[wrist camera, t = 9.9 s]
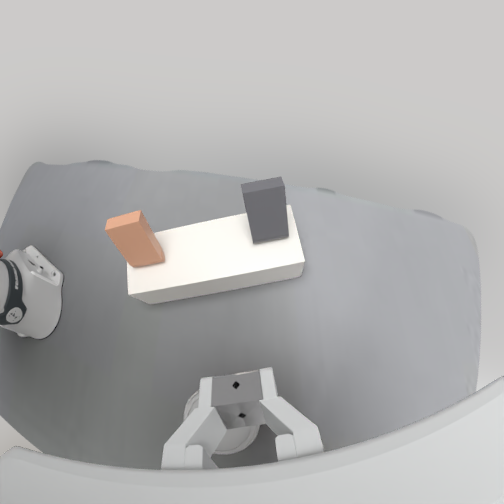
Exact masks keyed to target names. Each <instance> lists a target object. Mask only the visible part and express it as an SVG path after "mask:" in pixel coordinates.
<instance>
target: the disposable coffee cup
mask: <svg viewBox="0 0 504 504" xmlns="http://www.w3.org/2000/svg"><path fill="white" fill-rule="evenodd" d="M198 402H199V390H198V391H197V392H195V393H194V394H193V395H192V396H191V397H190V398H189V400H188V402H187V404H186V406H185V410H184V421H185V420H186V419H187V417H188V416H189V415H190V414H191V413H192V411H193V410H194V409H195V408H198ZM259 428H260V425H254V426H246V427H240V428H233V429H227V431H226V433H225V435H224V436H223V438H222V440H221V441H220V443H219V445H218V446H217V448H216V450H215V451H214V453H216V454H233V453H237V452H239V451H242V450H244V449H245V448H247V447H248V446H249V445H250V444H251V443H252V442H253V441H254V440H255V438H256V436H257V434H258V432H259Z"/></svg>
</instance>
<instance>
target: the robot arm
mask: <svg viewBox="0 0 504 504" xmlns="http://www.w3.org/2000/svg"><path fill="white" fill-rule="evenodd" d="M2 256H3V253H2V251H1V250H0V258H1V257H2ZM55 274H56V275H55ZM62 283H63V274H62V272H61V271H59V270H58V269H57V268H56V267H55V266H54V265H53V264H52V263H51V262H50V261H49V260H48V259H47V258H46V257H45V256H44V255H43V254H41V253H40V252H39V251H38V250H37V249H36V248H35V247H34V246H32V245H31V246H29V247H27V248H26V249H24V250H23V251H21V250H18V249H16V250H14V251H12V252H11V253H10V254H9V255H8V256H7V257H6V258H5V259H0V326H1V327H4V328H6V329H9V330H11V331H14V332H17V334H18V335H19V336H20V337H28V336H30V337H33V338H35V339H42V338H45V337H47V336H48V335H49V334H50V333H51V332H52V331H53V330H54V328H55V327H56V325H57V323H58V320H59V317H60V313H61V305H62V298H61V287H62ZM262 424H267V425H268V426H269V428H270V429H271V430H272V431H273V432H274V433H275V434H276V435H277V437H276V438H275V442H276V450H277V458H278V462H273V463H267V464H259V465H252V466H243V467H233V468H220V469H219V468H218V467H217V466H216V464H215V463H214V462H213V460H212V459H211V456H212V455H213V453H214V451H215V450H216V448H217V446H218V445H219V443H220V441H221V440H222V438H223V436H224V435H225V433H226V431H227V429H233V428H240V427H246V426H254V425H262ZM0 504H504V376H502V377H500V378H498V379H497V380H495V381H493V382H491V383H490V384H488V385H487V386H485V387H483V388H482V389H480V390H478V391H476V392H475V393H473V394H471V395H469V396H468V397H466V398H464V399H462V400H460V401H458V402H456V403H455V404H453V405H451V406H449V407H447V408H445V409H443V410H441V411H438V412H436V413H434V414H432V415H430V416H428V417H426V418H423V419H421V420H419V421H416V422H414V423H412V424H409V425H407V426H404V427H402V428H399V429H397V430H394V431H391V432H389V433H386V434H383V435H380V436H377V437H375V438H372V439H369V440H366V441H362V442H359V443H356V444H353V445H349V446H346V447H342V448H339V449H335V450H331V451H327V452H324V449H323V445H322V441H321V437H320V434H319V430H318V427H317V426H316V425H315V424H314V423H312V422H311V421H310V420H309V419H307V418H306V417H305V416H304V415H302V414H301V413H300V412H299V411H298V410H296V409H295V408H294V407H293V406H292V405H290V404H289V403H288V402H287V401H286V400H284V399H283V398H282V397H281V396H280V397H278V392H277V388H276V383H275V378H274V374H273V369H272V367H269V368H264V369H258V370H252V371H247V372H241V373H236V374H229V375H221V376H213V377H204V378H201V380H200V388H199V402H198V408H195V409H194V410H193V411H192V413H191V414H190V415H189V416H188V417H187V419H186V420H185V421H184V422H183V423H182V424H181V426H180V427H179V428H178V429H177V430H176V432H175V433H174V434H173V435H172V436H171V437H170V439H169V440H168V441H167V442H166V443H165V444H164V449H163V457H162V465H161V470H156V469H138V468H126V467H116V466H107V465H100V464H93V463H87V462H81V461H76V460H71V459H66V458H61V457H57V456H52V455H48V454H44V453H40V452H37V451H33V450H30V449H26V448H23V447H20V446H14V447H12V448H11V449H9V450H8V451H6V452H5V453H4V454H3V455H1V456H0Z"/></svg>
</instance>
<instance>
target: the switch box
mask: <svg viewBox="0 0 504 504" xmlns="http://www.w3.org/2000/svg"><path fill="white" fill-rule="evenodd" d="M286 207H287V218H288V229H289V237H285V238H280V239H274V240H269V241H264V242H259V243H254V244H253V241H252V236H251V231H250V226H249V222H248V217H247V213H244V214H239V215H235V216H230V217H225V218H220V219H215V220H210V221H206V222H201V223H196V224H192V225H187V226H183V227H178V228H174V229H169V230H165V231H161V232H156V233H154V235H155V237H156V239H157V240H158V242H159V244H160V246H161V247H162V251H163V252H164V255H165V261H164V262H159V263H154V264H149V265H144V266H139V267H135V268H133V267H132V266H130V265H129V263H128V262H127V276H128V295H130V296H132V297H134V298H137V299H139V300H141V301H143V302H145V303H147V304H156V303H162V302H168V301H174V300H180V299H186V298H191V297H197V296H203V295H208V294H214V293H219V292H225V291H230V290H236V289H241V288H246V287H251V286H256V285H262V284H267V283H272V282H277V281H282V280H287V279H292V278H296V277H301V274H302V270H303V267H304V263H305V260H304V256H303V252H302V248H301V244H300V240H299V236H298V232H297V228H296V224H295V220H294V217H293V213H292V209H291V205H286Z"/></svg>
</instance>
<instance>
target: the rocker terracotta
mask: <svg viewBox="0 0 504 504" xmlns="http://www.w3.org/2000/svg"><path fill="white" fill-rule="evenodd" d="M105 231H106V232H107V234H108V235H109V237H110V238H111V240H112V241H113V242H114V244H115V245H116V247H117V248H118V249H119V251H120V252H121V254H122V255H123V256H124V258H125V259H126V260H127V262H128V263H129V265H130V266H132V267H133V268H135V267H139V266H144V265H149V264H154V263H159V262H164V261H165V255H164V252H163V251H162V247H161V246H160V244H159V242H158V240H157V239H156V237H155V235H154V233H153V232H152V230H151V228H150V226H149V224H148V223H147V221H146V219H145V217H144V215H143V213H142V211H141V210H139V211H136V212H132V213H128V214H124V215H121V216H117V217H113V218H110V219H108V220H107V224H106V228H105Z"/></svg>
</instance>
